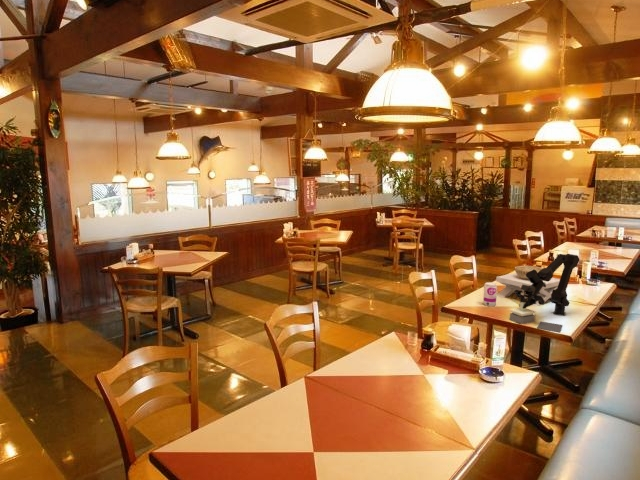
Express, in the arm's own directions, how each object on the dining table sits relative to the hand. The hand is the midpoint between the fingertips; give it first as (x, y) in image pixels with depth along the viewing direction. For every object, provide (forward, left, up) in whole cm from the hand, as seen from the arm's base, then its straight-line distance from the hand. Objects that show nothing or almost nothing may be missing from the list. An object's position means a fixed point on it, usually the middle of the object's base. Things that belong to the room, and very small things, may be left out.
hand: (521, 307), depth 264 cm
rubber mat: (+2, +16, -8) cm, 18 cm away
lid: (-1, +1, -3) cm, 3 cm away
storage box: (-1, +1, -8) cm, 9 cm away
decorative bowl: (-59, -5, -9) cm, 60 cm away
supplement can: (-24, -24, -9) cm, 35 cm away
